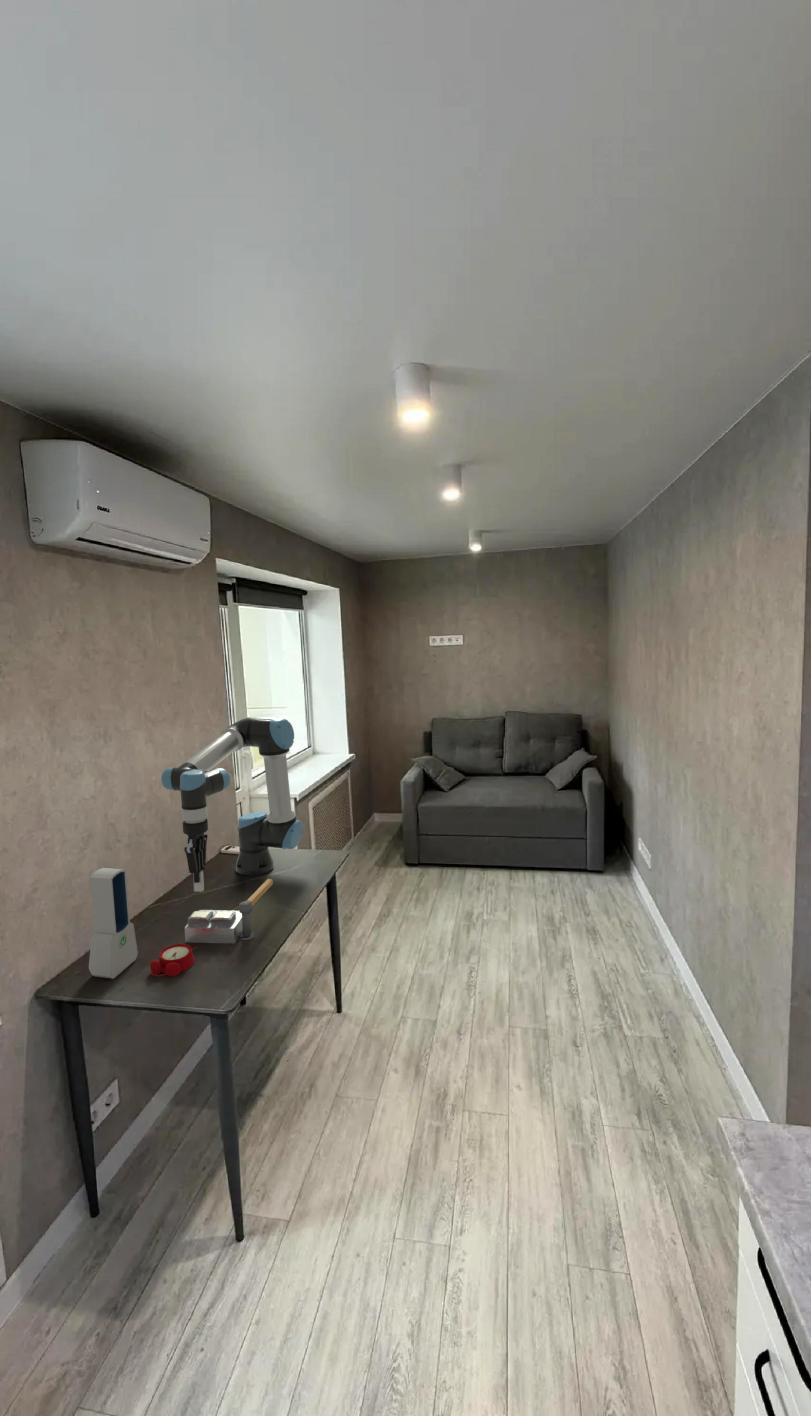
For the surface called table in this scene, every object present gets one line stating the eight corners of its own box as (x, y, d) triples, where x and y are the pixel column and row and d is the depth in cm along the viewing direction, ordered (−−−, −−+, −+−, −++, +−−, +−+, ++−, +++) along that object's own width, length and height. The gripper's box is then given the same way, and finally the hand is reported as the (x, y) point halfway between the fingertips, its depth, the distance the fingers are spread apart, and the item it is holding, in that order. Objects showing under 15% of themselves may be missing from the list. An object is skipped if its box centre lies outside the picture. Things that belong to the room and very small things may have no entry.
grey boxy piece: (200, 924, 204) (199, 903, 203) (261, 925, 203) (260, 904, 202) (185, 942, 192) (184, 920, 191) (250, 944, 191) (249, 922, 190)
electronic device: (111, 981, 172) (103, 880, 167) (88, 978, 173) (79, 878, 169) (139, 957, 184) (131, 863, 180) (117, 955, 185) (109, 861, 181)
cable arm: (250, 938, 193) (248, 907, 192) (238, 937, 194) (236, 906, 192) (276, 907, 215) (275, 878, 213) (266, 906, 215) (264, 877, 214)
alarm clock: (203, 944, 184) (173, 959, 170) (201, 965, 184) (171, 982, 169) (173, 940, 187) (141, 955, 172) (171, 961, 186) (139, 977, 172)
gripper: (191, 813, 198) (195, 881, 201) (174, 826, 185) (179, 899, 188) (214, 813, 197) (218, 882, 201) (198, 826, 184) (202, 900, 188)
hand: (199, 890), depth 194 cm, fingers closed
